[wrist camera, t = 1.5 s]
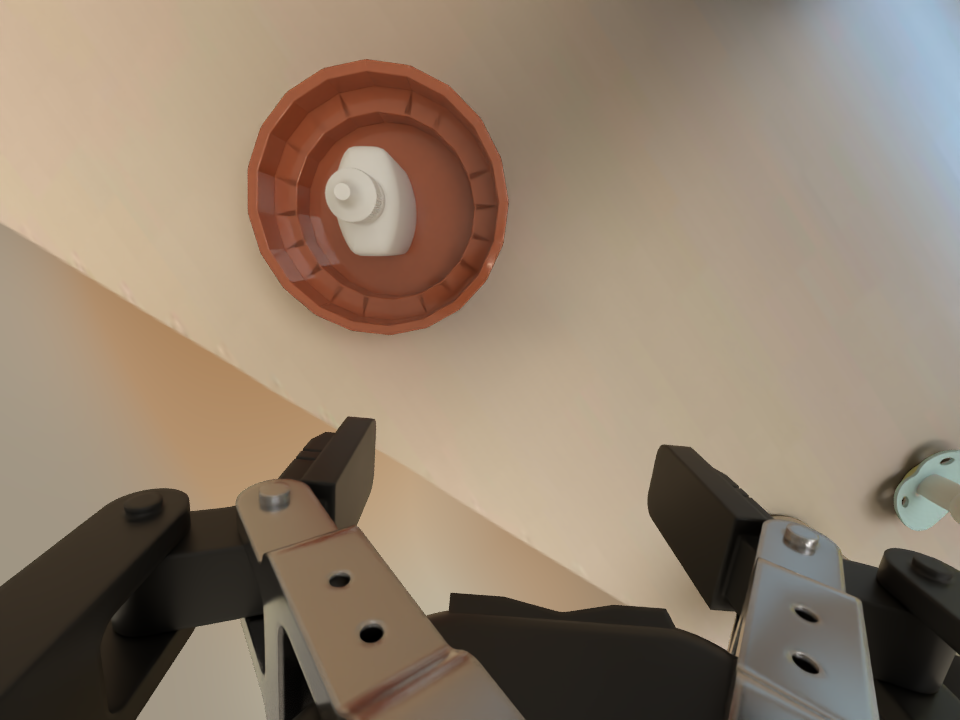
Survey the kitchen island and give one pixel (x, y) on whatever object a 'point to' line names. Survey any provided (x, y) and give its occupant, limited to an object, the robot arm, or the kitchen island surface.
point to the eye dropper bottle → (372, 202)
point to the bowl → (432, 173)
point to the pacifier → (930, 491)
